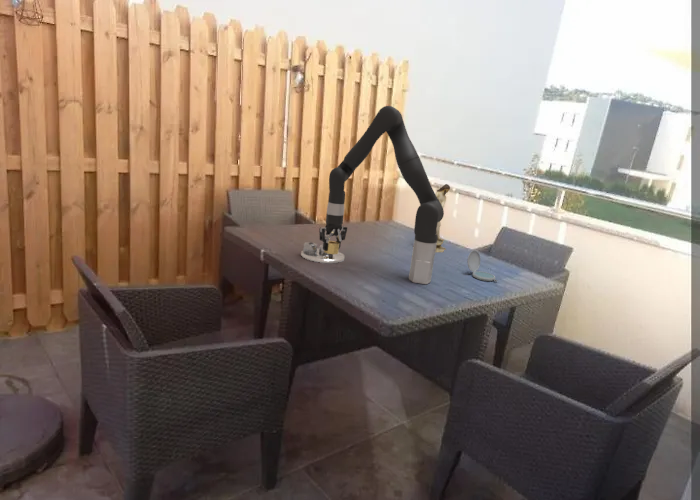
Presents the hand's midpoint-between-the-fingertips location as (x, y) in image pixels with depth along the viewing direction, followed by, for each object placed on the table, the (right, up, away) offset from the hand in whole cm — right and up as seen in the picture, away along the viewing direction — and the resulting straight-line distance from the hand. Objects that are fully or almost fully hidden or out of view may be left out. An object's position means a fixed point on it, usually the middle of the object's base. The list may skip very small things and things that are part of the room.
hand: (331, 249), depth 211 cm
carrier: (-4, -3, +6) cm, 8 cm away
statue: (+51, +1, +46) cm, 69 cm away
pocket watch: (+68, -13, +1) cm, 69 cm away
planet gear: (0, -1, 0) cm, 1 cm away
